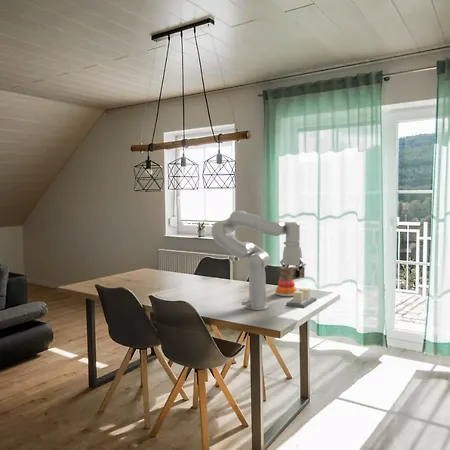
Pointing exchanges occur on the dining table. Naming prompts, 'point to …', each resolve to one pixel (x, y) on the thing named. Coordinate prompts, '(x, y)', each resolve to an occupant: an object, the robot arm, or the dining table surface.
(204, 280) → the dining table surface
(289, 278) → the walnut beam
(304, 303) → the plate
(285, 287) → the stacking toy
